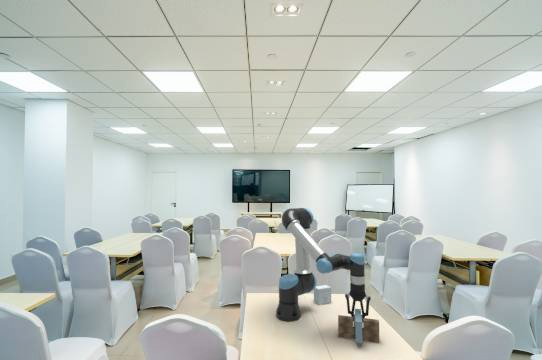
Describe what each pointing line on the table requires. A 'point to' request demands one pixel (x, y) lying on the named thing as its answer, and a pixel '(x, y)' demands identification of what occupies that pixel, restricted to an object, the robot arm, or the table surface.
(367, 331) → the slotted beam
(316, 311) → the table surface
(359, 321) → the long blue bar
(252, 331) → the table surface
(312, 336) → the table surface
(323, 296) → the skincare box
